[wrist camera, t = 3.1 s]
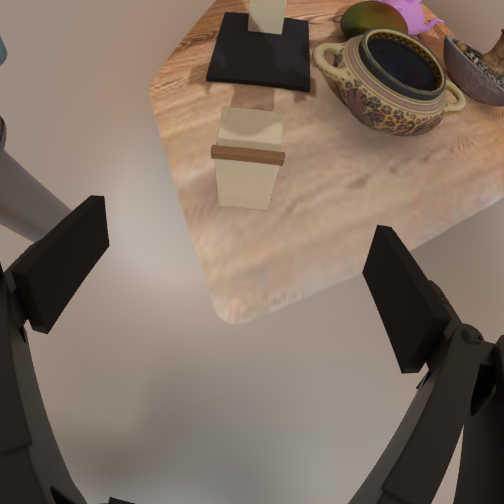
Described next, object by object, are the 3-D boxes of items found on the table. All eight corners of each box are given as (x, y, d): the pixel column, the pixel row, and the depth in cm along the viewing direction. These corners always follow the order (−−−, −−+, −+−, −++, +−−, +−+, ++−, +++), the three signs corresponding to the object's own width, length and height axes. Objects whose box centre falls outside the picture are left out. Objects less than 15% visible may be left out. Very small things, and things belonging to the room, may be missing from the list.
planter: (425, 59, 51) (465, -6, 31) (475, 70, 52) (515, 19, 33) (457, 114, 47) (513, 49, 28) (504, 121, 49) (555, 71, 29)
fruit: (405, 56, 50) (424, 23, 40) (365, 67, 48) (384, 28, 38) (367, 23, 52) (380, -11, 42) (325, 31, 50) (336, -8, 40)
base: (206, 81, 45) (201, 10, 31) (225, 15, 50) (226, -43, 36) (308, 92, 45) (329, 24, 31) (307, 24, 50) (320, -32, 36)
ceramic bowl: (293, 130, 46) (310, 83, 31) (309, 43, 46) (326, -13, 31) (432, 172, 46) (486, 149, 31) (434, 86, 46) (476, 49, 31)
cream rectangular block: (217, 207, 40) (210, 152, 27) (223, 163, 41) (220, 98, 28) (268, 213, 40) (284, 159, 27) (272, 168, 41) (287, 105, 28)
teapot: (367, 3, 55) (377, -24, 46) (417, 20, 55) (430, -4, 47) (375, 28, 52) (388, -2, 43) (430, 47, 52) (446, 21, 44)
